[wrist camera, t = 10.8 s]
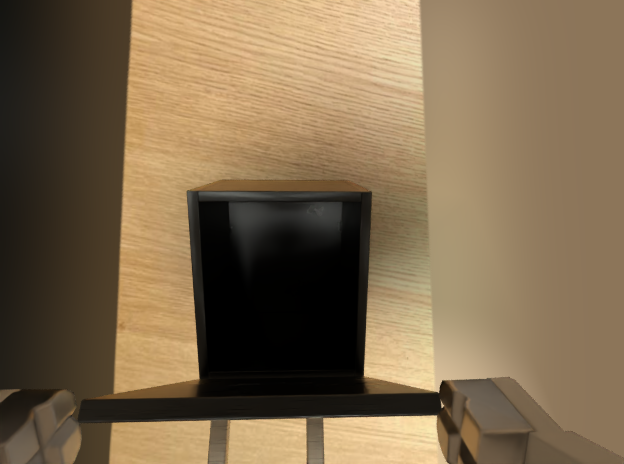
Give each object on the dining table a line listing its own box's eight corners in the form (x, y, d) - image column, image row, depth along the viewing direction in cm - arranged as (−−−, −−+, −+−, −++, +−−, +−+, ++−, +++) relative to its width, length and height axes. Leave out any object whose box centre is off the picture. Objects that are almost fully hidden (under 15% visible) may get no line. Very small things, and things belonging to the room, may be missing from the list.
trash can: (221, 179, 37) (186, 190, 25) (349, 180, 37) (372, 191, 26) (227, 316, 40) (199, 380, 29) (345, 315, 41) (363, 378, 29)
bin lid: (80, 399, 13) (46, 571, 11) (440, 392, 13) (461, 554, 12) (198, 379, 28) (191, 450, 27) (364, 376, 29) (368, 445, 27)
